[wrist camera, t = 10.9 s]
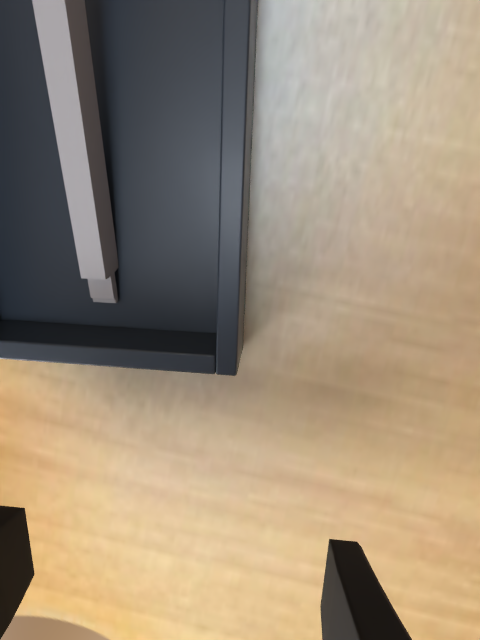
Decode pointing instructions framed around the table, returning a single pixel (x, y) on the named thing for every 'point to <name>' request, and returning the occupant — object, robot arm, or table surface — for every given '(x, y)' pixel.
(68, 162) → the caliper
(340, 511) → the table surface
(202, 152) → the tray
